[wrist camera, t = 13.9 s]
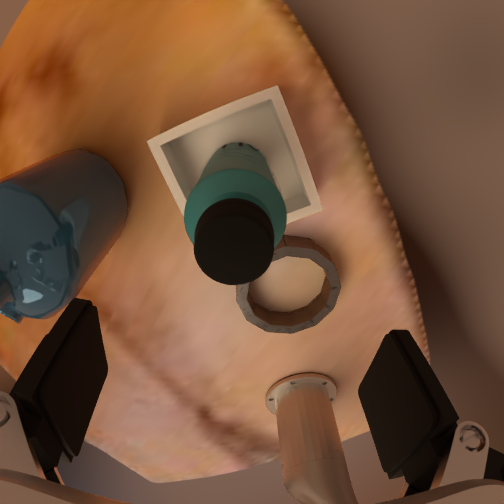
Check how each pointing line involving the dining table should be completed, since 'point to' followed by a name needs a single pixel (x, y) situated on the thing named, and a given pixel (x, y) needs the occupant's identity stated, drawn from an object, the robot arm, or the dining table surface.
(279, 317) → the holder ring
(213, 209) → the beverage bottle
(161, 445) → the dining table surface
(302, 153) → the bin
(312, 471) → the robot arm
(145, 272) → the dining table surface
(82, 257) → the wine bottle
